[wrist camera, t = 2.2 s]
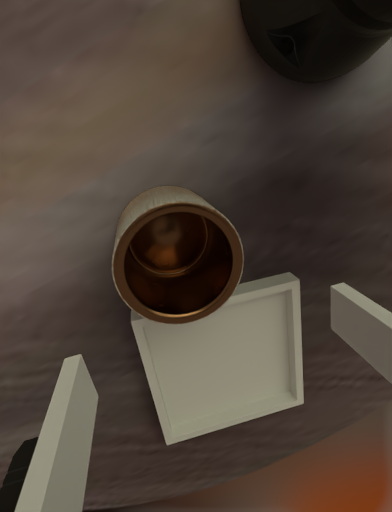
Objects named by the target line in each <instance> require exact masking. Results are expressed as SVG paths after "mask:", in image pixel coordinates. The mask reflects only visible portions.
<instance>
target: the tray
mask: <svg viewBox="0 0 392 512" xmlns="http://www.w3.org/2000/svg"><path fill="white" fill-rule="evenodd" d="M131 324H132V327H133V331H134V334H135V338H136V341H137V345H138V348H139V351H140V355H141V358H142V362H143V365H144V369H145V372H146V376H147V379H148V382H149V386H150V389H151V393H152V396H153V400H154V403H155V407H156V410H157V414H158V417H159V420H160V424H161V427H162V431H163V434H164V438H165V441H166V445H170V444H173V443H177V442H180V441H183V440H186V439H190V438H193V437H196V436H199V435H203V434H206V433H209V432H212V431H216V430H219V429H222V428H226V427H229V426H232V425H235V424H239V423H242V422H245V421H248V420H252V419H255V418H258V417H261V416H265V415H268V414H271V413H274V412H278V411H281V410H284V409H287V408H291V407H294V406H297V405H300V404H304V396H303V366H302V337H301V307H300V280H299V279H298V278H297V277H296V276H294V275H293V274H292V273H291V272H287V273H283V274H279V275H274V276H270V277H266V278H262V279H258V280H254V281H250V282H246V283H242V284H238V286H237V288H236V290H235V291H234V293H233V294H232V296H231V297H230V298H229V300H228V301H227V302H226V303H225V304H224V305H223V306H222V307H221V308H219V309H218V310H217V311H215V312H214V313H213V314H211V315H209V316H207V317H205V318H203V319H201V320H198V321H195V322H192V323H187V324H180V325H168V324H161V323H156V322H153V321H150V320H148V319H145V318H143V317H142V316H140V315H138V314H137V313H135V312H134V311H133V310H131Z"/></svg>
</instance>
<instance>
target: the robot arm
mask: <svg viewBox="0 0 392 512" xmlns="http://www.w3.org/2000/svg"><path fill="white" fill-rule="evenodd" d="M240 2H241V9H242V14H243V18H244V22H245V25H246V28H247V31H248V34H249V36H250V38H251V41H252V43H253V44H254V46H255V48H256V50H257V51H258V53H259V54H260V55H261V57H262V58H263V59H264V60H265V62H266V63H267V64H268V65H269V66H270V67H272V68H273V69H274V70H275V71H277V72H278V73H279V74H281V75H283V76H285V77H287V78H289V79H292V80H295V81H298V82H305V83H315V82H322V81H326V80H329V79H332V78H335V77H337V76H340V75H343V74H345V73H347V72H349V71H351V70H353V69H355V68H356V67H358V66H359V65H361V64H362V63H364V62H365V61H366V60H367V59H369V58H370V57H371V56H372V55H373V54H374V53H375V52H376V51H377V50H378V49H379V48H380V47H381V46H382V45H384V44H385V43H386V42H387V41H388V40H389V39H390V38H391V37H392V0H240ZM331 329H332V330H333V331H334V332H335V333H336V334H337V335H339V336H340V337H341V338H342V339H343V340H344V341H345V342H346V343H347V344H348V345H350V346H351V347H352V348H353V349H354V350H355V351H356V352H357V353H358V354H359V355H361V356H362V357H363V358H364V359H365V360H366V361H367V362H368V363H369V364H370V365H371V366H373V367H374V368H375V369H376V370H377V371H378V372H379V373H380V374H381V375H382V376H384V377H385V378H386V379H387V380H388V381H389V382H390V383H391V384H392V313H391V312H389V311H388V310H386V309H384V308H383V307H381V306H380V305H378V304H377V303H375V302H373V301H372V300H370V299H369V298H367V297H366V296H364V295H363V294H361V293H359V292H358V291H356V290H355V289H353V288H352V287H350V286H348V285H347V284H345V283H344V282H343V283H340V284H336V285H332V286H331ZM97 402H98V394H97V392H96V389H95V387H94V384H93V382H92V380H91V377H90V375H89V372H88V370H87V367H86V365H85V362H84V360H83V358H82V355H81V354H79V355H76V356H72V357H68V358H65V359H64V362H63V365H62V368H61V371H60V375H59V378H58V381H57V384H56V387H55V390H54V393H53V396H52V399H51V402H50V405H49V408H48V411H47V414H46V417H45V420H44V423H43V426H42V429H41V432H40V435H39V437H36V438H33V439H30V440H26V441H24V442H23V444H22V445H21V446H20V448H19V449H18V451H17V452H16V453H15V455H14V456H13V459H12V461H11V464H10V466H9V469H8V471H7V472H8V474H7V475H6V477H5V479H4V482H3V484H2V485H3V487H2V488H1V489H0V512H82V508H83V501H84V494H85V487H86V480H87V473H88V466H89V459H90V452H91V445H92V438H93V431H94V424H95V416H96V409H97Z"/></svg>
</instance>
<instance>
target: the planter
mask: <svg viewBox="0 0 392 512" xmlns="http://www.w3.org/2000/svg"><path fill="white" fill-rule="evenodd" d="M243 266H244V252H243V246H242V242H241V239H240V237H239V235H238V233H237V231H236V229H235V228H234V226H233V225H232V223H231V222H230V221H229V220H228V219H227V218H226V217H225V216H224V215H223V214H222V213H220V212H219V211H218V210H216V209H215V208H214V207H212V206H211V205H210V204H209V203H208V202H206V201H205V200H204V199H203V198H202V197H200V196H199V195H197V194H196V193H194V192H192V191H190V190H188V189H185V188H182V187H178V186H159V187H155V188H151V189H149V190H146V191H144V192H142V193H141V194H139V195H138V196H136V197H135V198H134V199H133V200H132V201H131V202H130V203H129V204H128V205H127V206H126V207H125V209H124V210H123V212H122V214H121V216H120V218H119V221H118V225H117V230H116V236H115V244H114V250H113V255H112V276H113V281H114V284H115V287H116V289H117V291H118V293H119V295H120V297H121V298H122V300H123V301H124V302H125V303H126V305H127V306H128V307H129V308H130V309H132V310H133V311H134V312H135V313H137V314H138V315H140V316H142V317H143V318H145V319H148V320H150V321H153V322H156V323H161V324H168V325H180V324H187V323H192V322H195V321H198V320H201V319H203V318H205V317H207V316H209V315H211V314H213V313H214V312H215V311H217V310H218V309H219V308H221V307H222V306H223V305H224V304H225V303H226V302H227V301H228V300H229V298H230V297H231V296H232V294H233V293H234V291H235V290H236V288H237V286H238V284H239V282H240V279H241V276H242V272H243Z"/></svg>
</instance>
